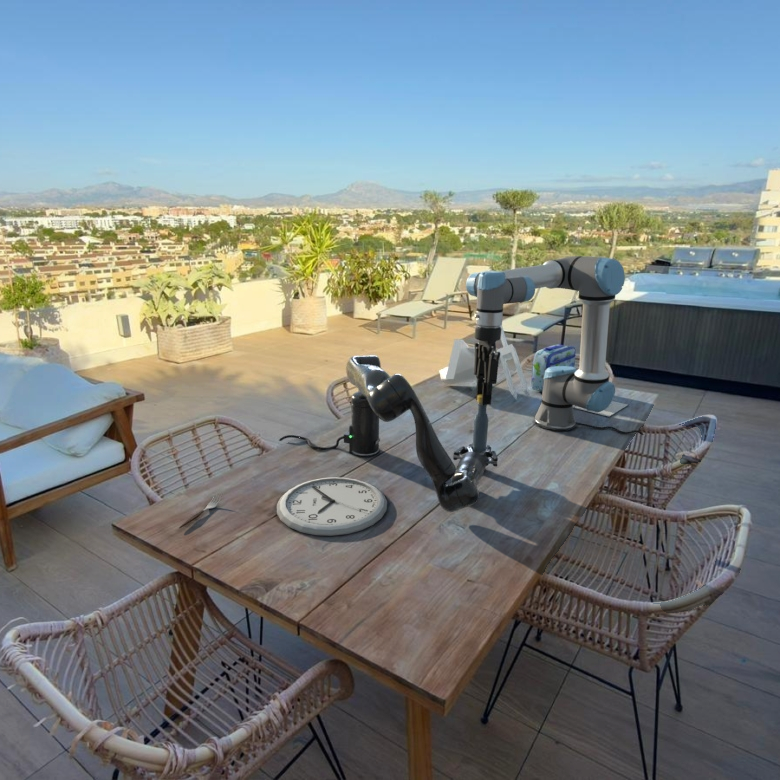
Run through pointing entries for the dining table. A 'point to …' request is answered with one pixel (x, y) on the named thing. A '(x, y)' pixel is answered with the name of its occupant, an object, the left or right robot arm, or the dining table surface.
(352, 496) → the wall clock
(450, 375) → the white plastic object
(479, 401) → the cap
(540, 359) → the lunch box
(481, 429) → the bottle
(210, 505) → the fork
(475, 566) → the dining table surface
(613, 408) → the invitation card
